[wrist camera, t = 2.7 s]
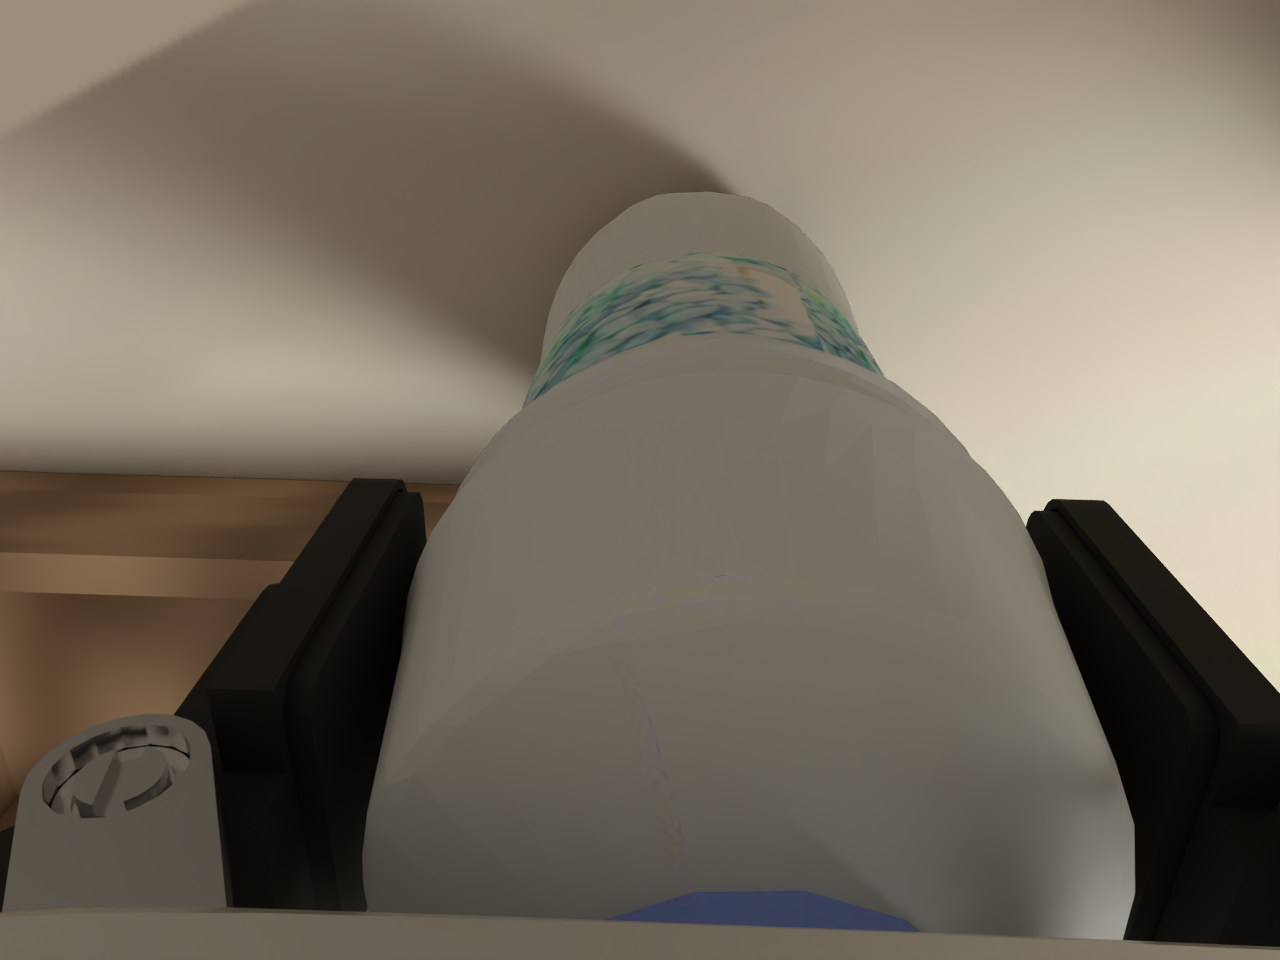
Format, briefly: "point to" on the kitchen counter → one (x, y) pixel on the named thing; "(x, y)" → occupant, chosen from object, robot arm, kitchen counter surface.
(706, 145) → the kitchen counter surface
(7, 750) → the wooden divided box
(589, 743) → the bottle
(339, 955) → the robot arm
